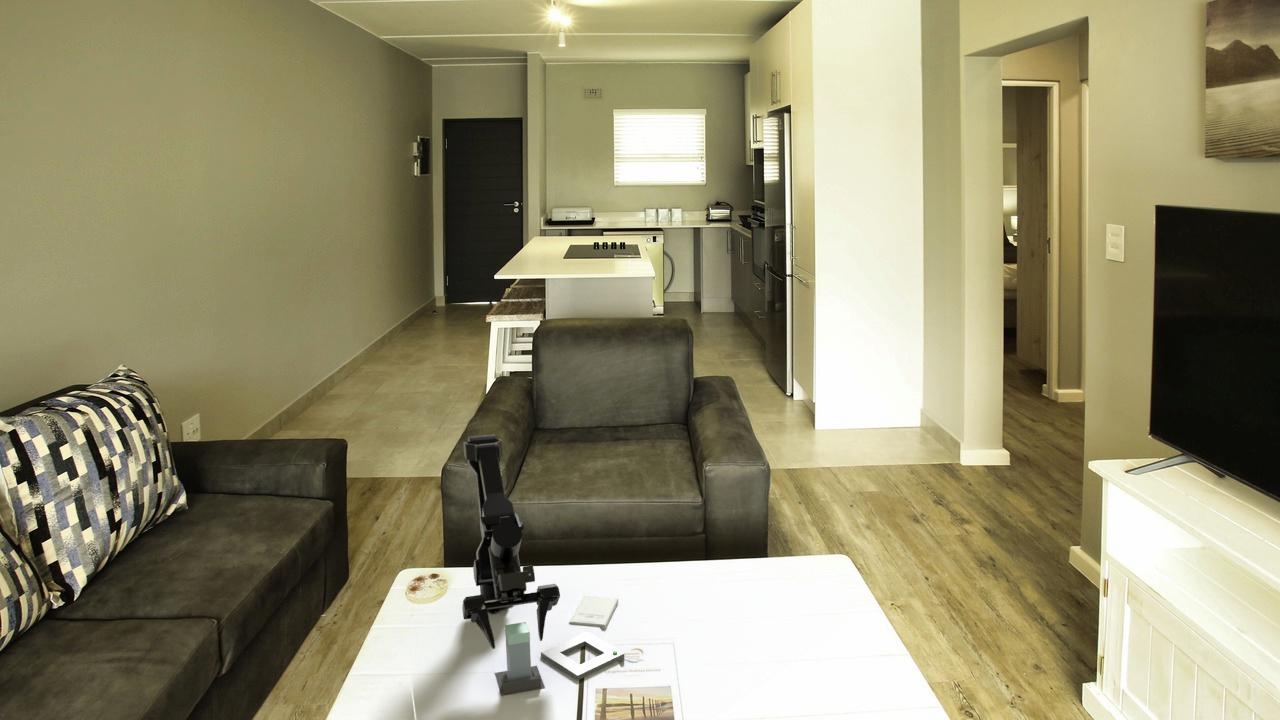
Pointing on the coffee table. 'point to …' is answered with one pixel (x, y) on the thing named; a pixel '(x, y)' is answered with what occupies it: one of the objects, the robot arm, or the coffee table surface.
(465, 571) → the coffee table surface
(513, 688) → the corner stop plate
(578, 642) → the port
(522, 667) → the plug
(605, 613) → the external hard drive
